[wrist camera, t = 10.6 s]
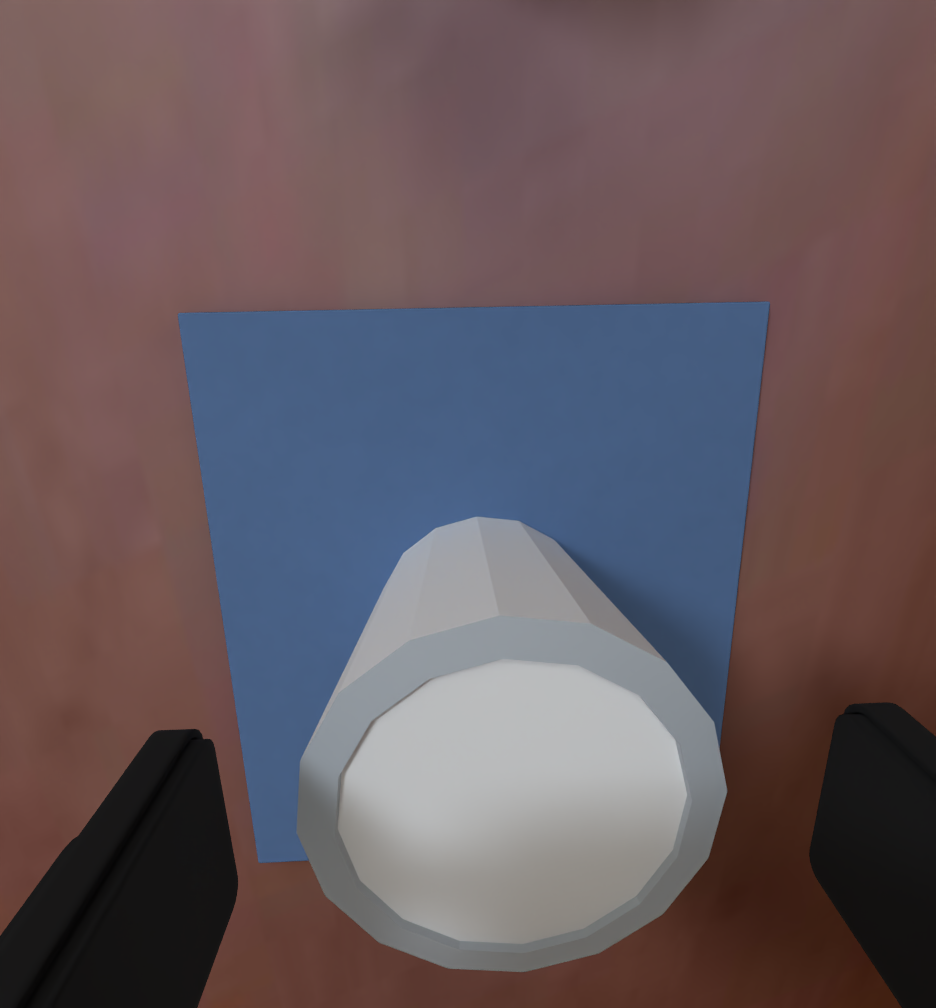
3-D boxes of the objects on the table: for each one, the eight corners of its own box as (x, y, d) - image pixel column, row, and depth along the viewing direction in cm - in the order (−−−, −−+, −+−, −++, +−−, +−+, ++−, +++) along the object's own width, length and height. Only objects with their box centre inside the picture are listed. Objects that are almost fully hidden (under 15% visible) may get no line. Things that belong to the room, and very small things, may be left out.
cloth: (183, 313, 14) (176, 312, 13) (762, 302, 14) (771, 301, 14) (261, 852, 18) (258, 863, 18) (704, 830, 19) (709, 840, 18)
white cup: (308, 566, 15) (201, 744, 9) (545, 446, 15) (632, 537, 8) (431, 760, 17) (423, 1034, 10) (647, 660, 16) (789, 883, 10)
